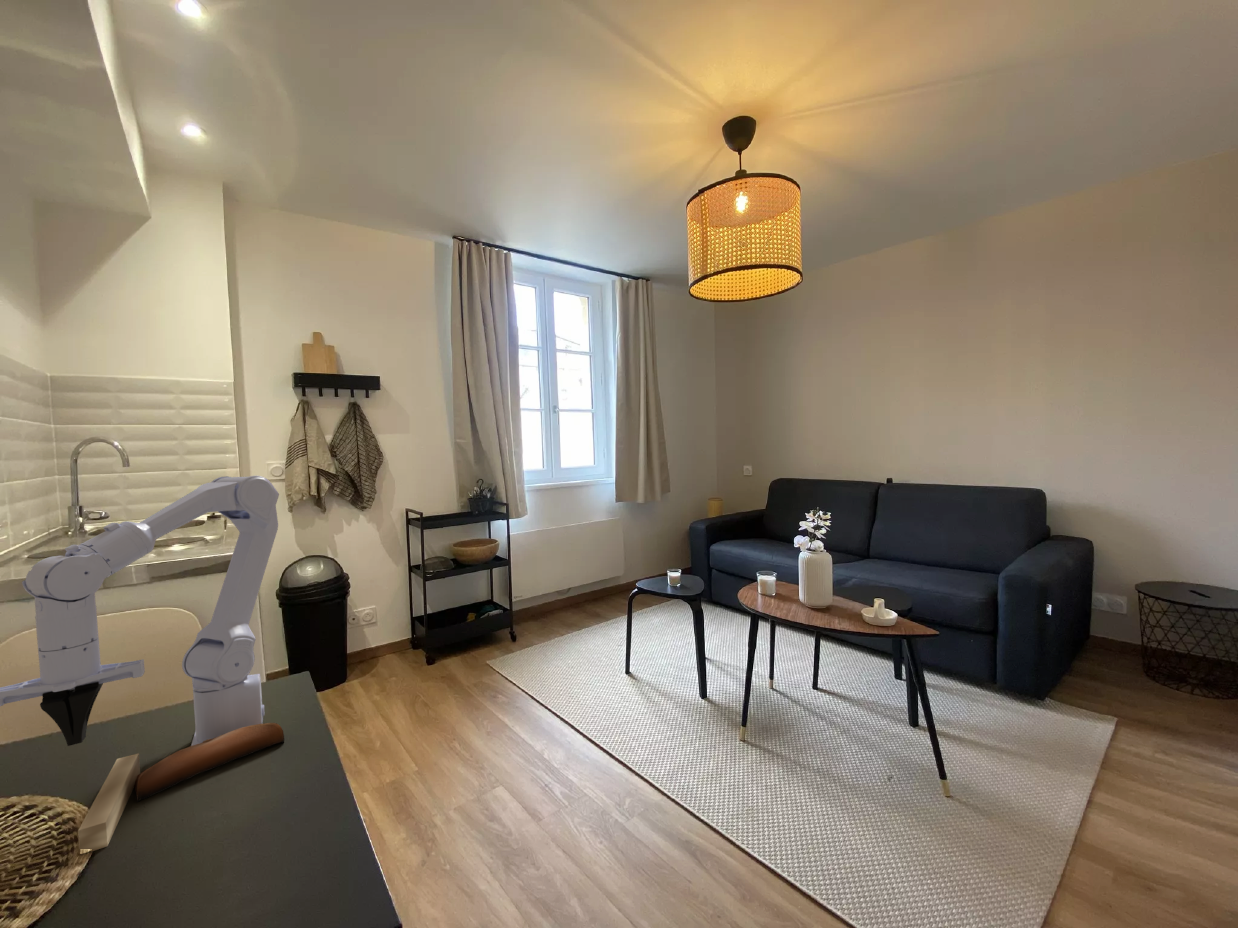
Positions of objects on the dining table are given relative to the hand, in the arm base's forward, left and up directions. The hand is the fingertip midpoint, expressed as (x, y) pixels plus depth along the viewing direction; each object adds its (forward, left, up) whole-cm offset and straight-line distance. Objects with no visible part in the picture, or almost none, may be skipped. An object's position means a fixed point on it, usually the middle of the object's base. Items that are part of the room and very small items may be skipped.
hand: (76, 741), depth 72 cm
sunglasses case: (-14, -1, -9) cm, 17 cm away
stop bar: (-4, +5, -9) cm, 11 cm away
